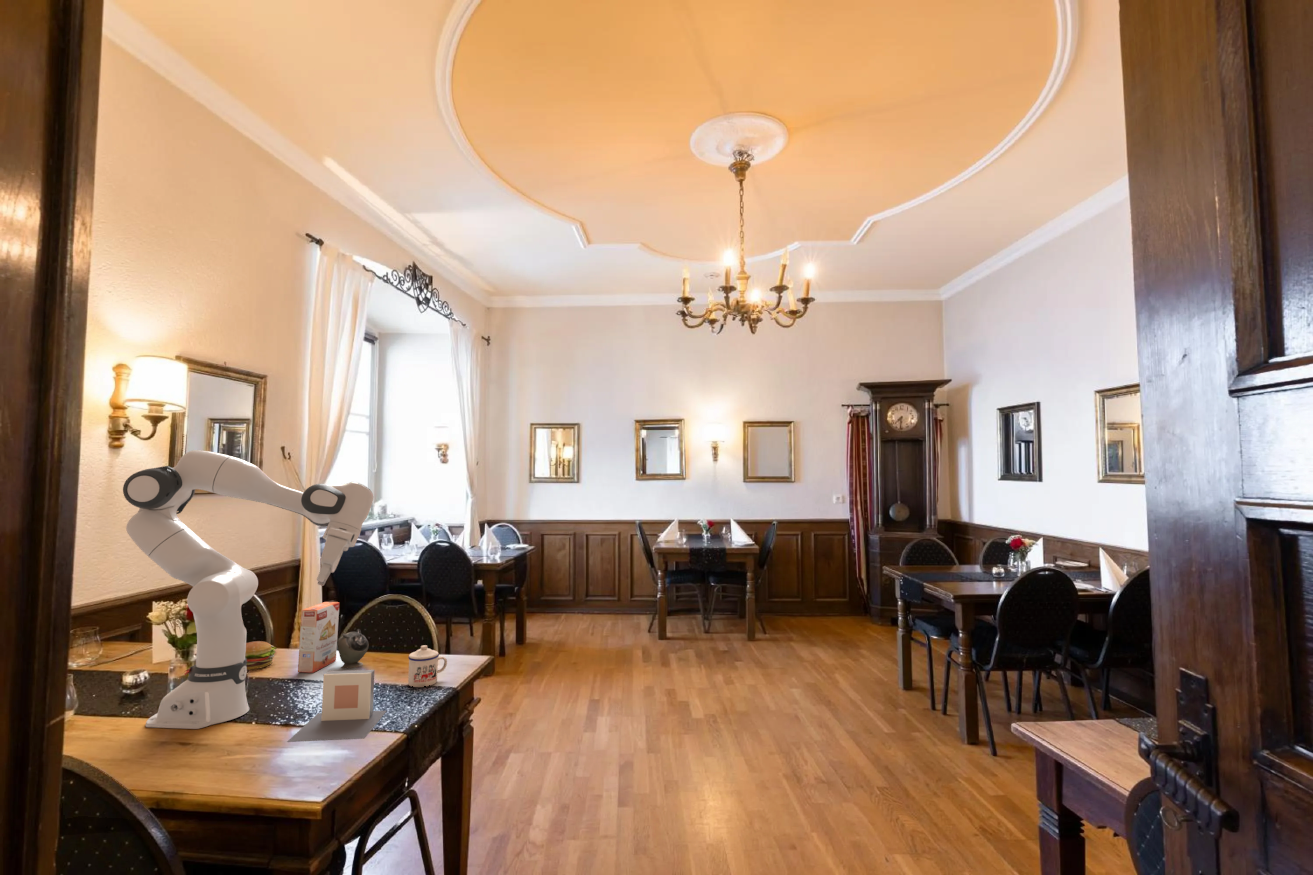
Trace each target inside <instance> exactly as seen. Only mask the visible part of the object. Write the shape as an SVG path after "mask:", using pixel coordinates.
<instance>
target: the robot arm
mask: <svg viewBox="0 0 1313 875" xmlns="http://www.w3.org/2000/svg"><path fill="white" fill-rule="evenodd" d="M196 490H200V491H201V490H202V491H206V492H208V493H209V492H210V493H213V494H217V495H219V496H220V495H221V496H224V497H229V498H234V499H241V500H245V501H252V502H256V503H262V504H266V505H270V506H273V507H277V508H280V509H283V510H286V511H289V512H292V513H296V514H297V515H298V514H299V515H301V516H303V517H305V518H306V519H307V521H309V522H310V523H311V524H313V525H315V526H317V527H326V529H325V531H324V533H323V536H322V539H324V540H325V542H324V547H323V549H322V553H321V555H320V556H321V557H320V565H321V566H320V570H319V573H318V575H317V578H316V581H317V585H318V586H325V584H326V582H327V580H328V578H329V576H330V575H331V573H332V574H333V573H335V571H336V570H337V567H338V565H339V563H340V560H341V557H342V556H343V553H344V552H347V551H348V550H349V548H354V547H355V546H356V543H357V540H358V538H359V536H360V534H361V532H362V527H363V525H364V524H363V523H364V522H365V521H366V520H367V519H368V515H369V513H370V511H371V509H372V506H373V501H374V494H373V492H372V490H371V489H370V488H368V487H367V486H366V485H364V484H362V483H360V482H357V481H351V482H348V483H344V484H343V483H341V484H327V483H326V484H324V483H316V484H313V485H312V484H311V486H309V487H307V488H306V489H305V490H304V491H303V492H302V491H300V490H298V489H297V490H296V489H293V488H290V487H287V486H285V485H282V484H279V483H278V482H276V481H274V480H273V479H272V478H270V477H269V476H268V475H267V474H266V472H264V471H263V470H262V469H261V468H259V466H257V465H255V464H253V463H251V462H249V461H247V460H244V459H242V458H239V457H236V456H232V455H228V454H226V453H224V454H223V453H220V452H215V451H214V452H213V451H209V450H200V449H195V450H194V449H193V450H190V451H187V452H186V453H185V454H183V455H182V456H181V457H180V459H179V460H178V462H177V464H176V465H175V466H174V467H171V466H170V465H164V466H163V465H162V466H159V467H150V468H146V469H142V470H139V471H137V472H135V473H133V474H131V475H130V476H129V477H127V479H126V480H125V482H124V484H123V487H122V493H123V496H124V498H125V500H126V501H127V502H128V503H129V504H131V505H132V506H134V507H136V508H139V510H138V511H137V512H136V513H135V514H134V515H132V516H131V518H130V519H129V520H128V521H127V523H126V526H125V529H126V533H127V535H128V536H129V537H130V539H131V540H132V541H133V543H135V545H136V546H137V547H138V548H139V549H140V550H141V552H143V554H145V555H146V556H147V557H148V558H149V559H150V560H152V561H153V562H154V563H155V564H156V565H157V566H158V567H160V569H162V570H163V571H164V572H165V573H167V575H169V576H170V577H172V578H173V579H176V580H179V581H181V582H184V583H186V584H187V585H190V586H192V588H191V589H190V590H189V592H188V595H187V596H186V597H187V598H186V602H187V607H188V608H189V610H190V612H192V614H193V619H194V624H195V630H196V640H197V641H196V656H195V664H193V665H191V666H190V667H189V668H188V669H186V670H184V674H183V675H185V676H187V675H188V676H187V679H186V680H185V681H183V682H182V683H180V684H179V685H178V686H177V687H175V688H173V689H172V690H171V691H170V692H169V693H167V694H166V695H165V696H163V697H162V699H161V700H160V703H159V707H158V711H157V713H155V714H154V715H152V716H150V717H149V718H148V719H147V720H146V722H145V727H146V728H159V729H161V728H163V729H187V730H188V729H191V730H199V729H202V728H205V727H208V726H212V725H216V724H220V723H224V722H227V721H231V720H234V719H237V718H239V717H241V716H243V715H245V714H247V713H248V712H249V711H250V707H249V704H248V699H247V694H246V693H247V692H246V679H247V678H246V677H247V672H248V670H247V659H246V658H245V653H246V643H247V635H248V634H247V633H248V632H247V628H246V627H245V625H244V621H243V617H242V616H243V615H242V605H243V604H246V603H247V602H248V601H250V600H251V599H252V597H253V596H254V595H255V593H256V592H257V589H258V586H259V579H258V577H257V575H256V574H255V572H253V570H250V569H248V568H245V567H243V566H242V565H240V564H239V563H236V562H235V561H234V560H232V559H230V558H229V557H227V556H225V555H224V554H222V553H220V551H217V550H216V549H215V548H213V547H212V546H211V545H209V543H207V542H206V541H205V540H204V539H202V538H201V537H200V536H199V535H198V534H197V533H196V532H194V531H193V530H192V529H191V528H190V527H189V526H188V525H186V524H185V523H184V522H183V521H182V520H180V518H179V517H178V515H179V514H181V513H182V512H183V510H184V509H185V507H186V506H187V504H189V502H191V500H192V499H193V497H194V496H195V493H196Z"/></svg>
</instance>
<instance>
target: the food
mask: <svg viewBox="0 0 1313 875" xmlns="http://www.w3.org/2000/svg"><path fill="white" fill-rule="evenodd" d="M276 649H277V647H276V646H272V645H271V644H270V643H269V642H267V641H262V640H261V641H260V640H257V641H249V642H246V653H245V658H246V659H247V671H251V670H257V669H262V668H264V667H268V666H269V665H271V664H272V663H273V660H274V659H273V658H274V657H275V653H276Z"/></svg>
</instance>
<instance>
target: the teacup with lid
mask: <svg viewBox="0 0 1313 875" xmlns="http://www.w3.org/2000/svg"><path fill="white" fill-rule="evenodd" d="M439 655H440V654H439V652H438V651H437V650H434V649H431V648H428V645H426V644H425V645H421V646H420V648H418V649H417V650H416V651H413V652H411V653H409V655H408V677H407V678H408V680H407V681H408V686H410V687H412V686H413V687H412V688H425V687H424V686H426V687H429V685H430V686H433V685H435V684H436V683H437V682H438V674H440V673H442V672H444V671H445V669H446V667H447V665H448V660H447V658H445V657H444V656H439ZM439 660H443V661H444V663H443V666H442V667H441V668H440V669H439V668H438V665H439V663H438V662H439Z"/></svg>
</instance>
